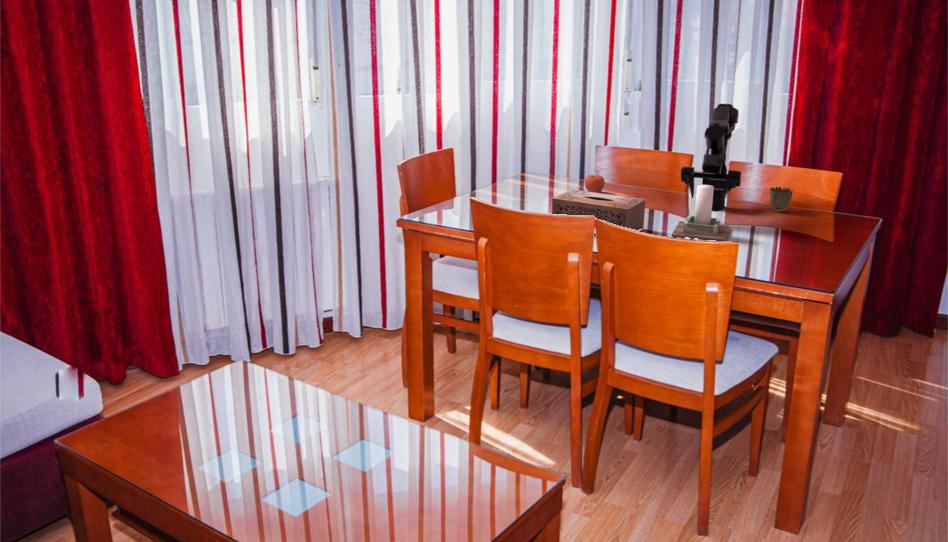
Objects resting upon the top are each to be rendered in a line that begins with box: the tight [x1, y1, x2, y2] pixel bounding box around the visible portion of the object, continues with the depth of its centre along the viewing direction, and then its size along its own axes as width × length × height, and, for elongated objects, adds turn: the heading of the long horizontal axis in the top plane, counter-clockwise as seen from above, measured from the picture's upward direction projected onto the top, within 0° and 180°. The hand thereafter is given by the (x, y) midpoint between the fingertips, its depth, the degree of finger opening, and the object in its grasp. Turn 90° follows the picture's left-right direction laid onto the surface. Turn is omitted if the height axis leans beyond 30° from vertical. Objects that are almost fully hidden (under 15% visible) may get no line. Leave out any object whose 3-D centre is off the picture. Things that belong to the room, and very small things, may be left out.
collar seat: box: [671, 214, 731, 241], centre depth 264 cm, size 16×16×4 cm
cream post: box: [694, 184, 714, 225], centre depth 263 cm, size 5×5×14 cm
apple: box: [584, 173, 606, 193], centre depth 314 cm, size 7×7×8 cm
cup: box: [769, 186, 794, 213], centre depth 290 cm, size 8×7×8 cm
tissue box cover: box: [551, 188, 646, 230], centre depth 270 cm, size 26×14×10 cm, turn 58°
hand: (706, 198), depth 269 cm, fingers open, 9 cm apart
